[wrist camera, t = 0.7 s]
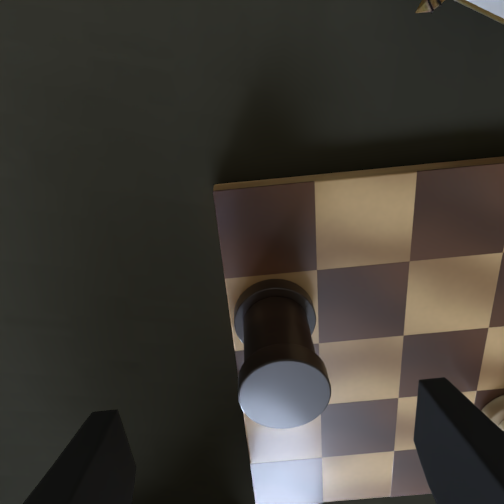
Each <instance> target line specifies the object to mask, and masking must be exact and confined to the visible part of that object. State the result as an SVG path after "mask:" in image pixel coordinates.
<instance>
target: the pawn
mask: <svg viewBox="0 0 504 504" xmlns="http://www.w3.org/2000/svg"><path fill="white" fill-rule="evenodd" d="M482 412H483V413H484V414H485V415H486V416H487V417H488V418H489V419H490V420H492V421H493V422H494V423H495V424H496V425H497V426H498V427H499V428H500V429H501V430H503V431H504V395H502V396H500V397H498V398H496V399H494V400H492V401H491V402H489V403H488V404H487V405H486V406H485V407H484V408H483V409H482Z"/></svg>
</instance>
